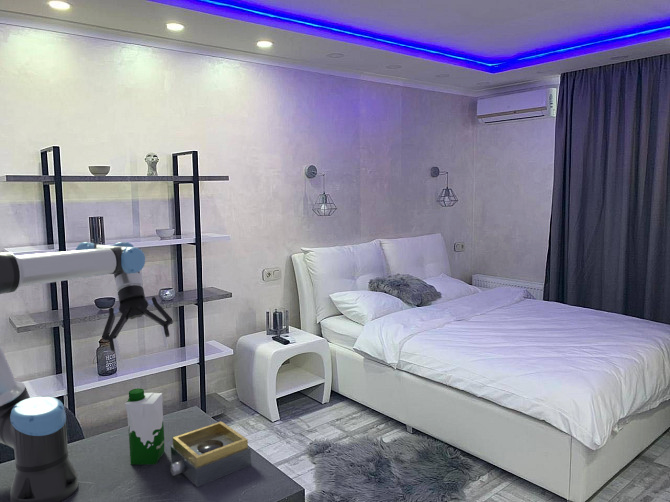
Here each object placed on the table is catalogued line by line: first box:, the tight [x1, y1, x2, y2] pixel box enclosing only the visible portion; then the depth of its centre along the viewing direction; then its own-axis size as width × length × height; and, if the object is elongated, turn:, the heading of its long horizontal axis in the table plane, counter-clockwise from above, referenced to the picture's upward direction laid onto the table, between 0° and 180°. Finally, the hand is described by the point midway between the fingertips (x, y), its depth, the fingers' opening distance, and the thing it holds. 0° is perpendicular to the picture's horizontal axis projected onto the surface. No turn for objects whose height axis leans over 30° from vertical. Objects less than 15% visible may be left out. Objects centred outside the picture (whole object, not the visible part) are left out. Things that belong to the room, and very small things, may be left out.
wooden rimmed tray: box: [169, 421, 252, 488], centre depth 143 cm, size 19×16×8 cm
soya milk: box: [124, 388, 165, 465], centre depth 147 cm, size 9×9×20 cm
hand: (143, 354), depth 153 cm, fingers open, 13 cm apart
